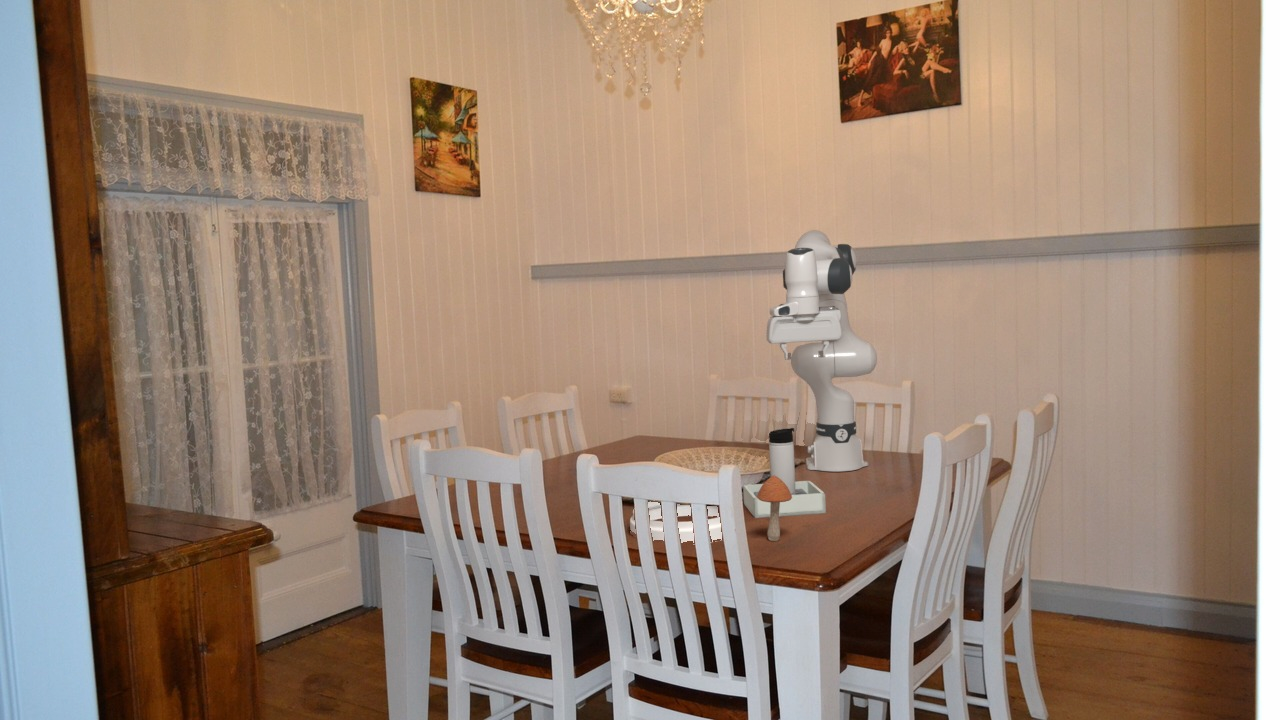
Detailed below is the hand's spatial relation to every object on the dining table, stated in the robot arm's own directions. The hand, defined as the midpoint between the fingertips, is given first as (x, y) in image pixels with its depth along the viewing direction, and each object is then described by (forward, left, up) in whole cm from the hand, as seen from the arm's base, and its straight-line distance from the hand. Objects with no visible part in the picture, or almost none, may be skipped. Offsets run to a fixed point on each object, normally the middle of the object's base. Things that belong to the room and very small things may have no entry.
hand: (804, 358), depth 258 cm
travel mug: (+16, -11, -36) cm, 41 cm away
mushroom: (+45, -19, -37) cm, 61 cm away
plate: (+30, -38, -38) cm, 61 cm away
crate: (+16, -11, -37) cm, 42 cm away
